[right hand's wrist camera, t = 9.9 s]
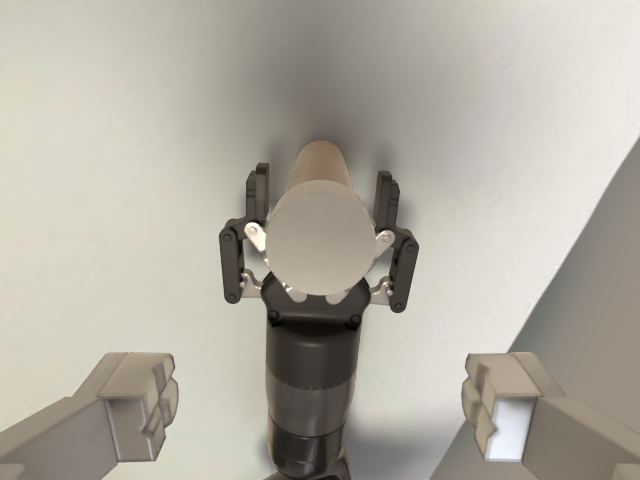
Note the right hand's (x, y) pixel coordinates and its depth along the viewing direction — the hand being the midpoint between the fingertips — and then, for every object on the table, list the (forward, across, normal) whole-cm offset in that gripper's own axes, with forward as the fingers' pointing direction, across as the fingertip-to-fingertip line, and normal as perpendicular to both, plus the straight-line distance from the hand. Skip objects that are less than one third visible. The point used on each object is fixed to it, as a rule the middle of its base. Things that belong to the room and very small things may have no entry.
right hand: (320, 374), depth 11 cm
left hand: (+21, 0, -1) cm, 21 cm away
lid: (+9, 0, 0) cm, 9 cm away
